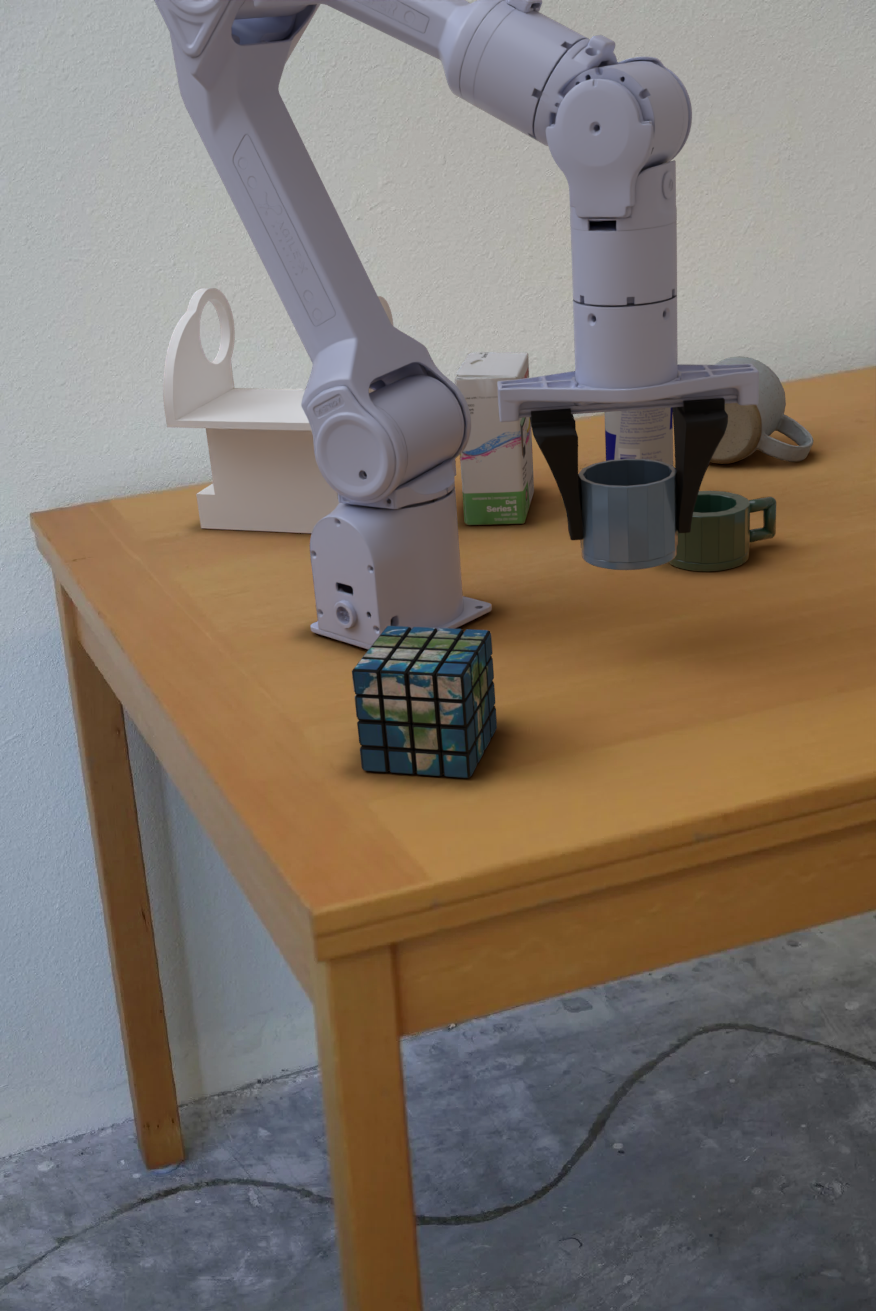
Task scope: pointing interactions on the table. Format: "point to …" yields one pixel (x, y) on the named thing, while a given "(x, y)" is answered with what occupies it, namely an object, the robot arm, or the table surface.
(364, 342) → the robot arm
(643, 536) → the blue cup
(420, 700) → the puzzle
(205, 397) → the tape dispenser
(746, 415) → the ceramic mug
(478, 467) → the ink box
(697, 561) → the green mug
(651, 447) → the beverage can
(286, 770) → the table surface
